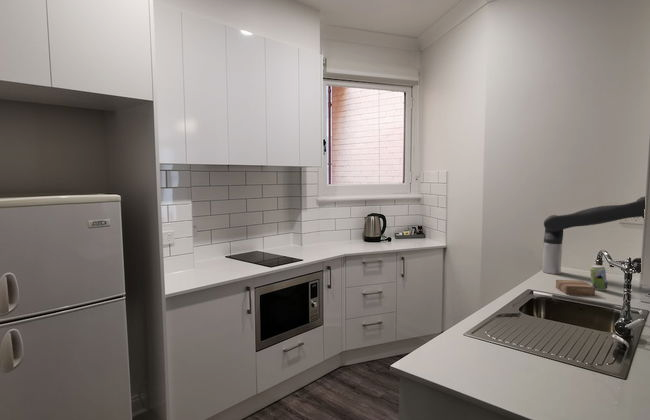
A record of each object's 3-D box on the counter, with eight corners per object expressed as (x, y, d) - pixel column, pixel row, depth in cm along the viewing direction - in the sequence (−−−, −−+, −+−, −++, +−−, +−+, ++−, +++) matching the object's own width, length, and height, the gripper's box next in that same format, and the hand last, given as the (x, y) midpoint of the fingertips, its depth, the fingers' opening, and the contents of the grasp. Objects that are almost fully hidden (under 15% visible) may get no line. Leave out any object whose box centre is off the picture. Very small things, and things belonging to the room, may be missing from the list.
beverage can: (610, 291, 184) (611, 266, 184) (594, 291, 185) (596, 266, 184) (601, 287, 191) (602, 264, 190) (586, 287, 191) (587, 264, 190)
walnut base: (555, 287, 191) (556, 279, 191) (582, 288, 189) (582, 280, 189) (566, 294, 179) (566, 286, 179) (594, 296, 177) (595, 287, 177)
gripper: (632, 255, 198) (605, 256, 195) (660, 260, 184) (632, 262, 181) (631, 269, 198) (604, 271, 196) (660, 276, 184) (631, 277, 182)
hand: (617, 266), depth 188 cm, fingers open, 8 cm apart
